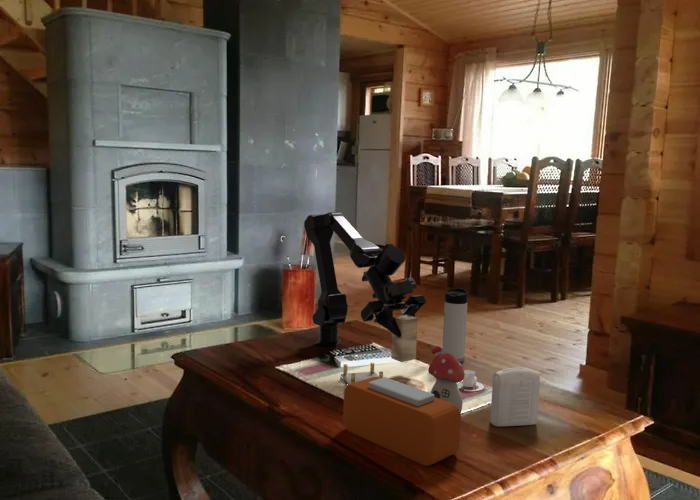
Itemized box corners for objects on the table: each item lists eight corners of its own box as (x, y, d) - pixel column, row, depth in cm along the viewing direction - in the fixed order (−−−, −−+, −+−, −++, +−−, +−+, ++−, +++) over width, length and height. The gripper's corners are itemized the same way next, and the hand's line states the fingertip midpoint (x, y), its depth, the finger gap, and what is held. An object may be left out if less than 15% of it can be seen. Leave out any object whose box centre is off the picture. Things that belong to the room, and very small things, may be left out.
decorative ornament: (421, 408, 150) (424, 344, 148) (447, 405, 153) (450, 342, 151) (441, 424, 142) (444, 356, 140) (468, 421, 144) (471, 354, 142)
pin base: (340, 376, 171) (341, 364, 170) (374, 374, 173) (374, 361, 173) (350, 388, 162) (350, 375, 162) (385, 386, 165) (385, 373, 164)
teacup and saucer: (465, 379, 172) (466, 364, 172) (492, 387, 167) (492, 371, 166) (445, 386, 166) (445, 371, 166) (471, 395, 161) (472, 379, 160)
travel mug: (468, 358, 189) (471, 289, 186) (459, 364, 184) (462, 293, 181) (448, 354, 192) (451, 286, 190) (438, 360, 187) (441, 290, 184)
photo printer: (530, 417, 147) (533, 364, 145) (539, 425, 143) (543, 370, 141) (487, 421, 144) (490, 366, 143) (495, 429, 140) (499, 372, 139)
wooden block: (390, 358, 173) (392, 317, 172) (405, 354, 176) (407, 314, 175) (401, 362, 170) (402, 320, 168) (416, 359, 173) (418, 318, 172)
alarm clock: (459, 456, 127) (462, 399, 126) (432, 470, 121) (434, 410, 120) (370, 419, 144) (371, 368, 143) (342, 429, 138) (343, 376, 137)
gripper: (368, 271, 167) (395, 323, 160) (423, 265, 179) (450, 313, 171) (349, 295, 175) (374, 346, 168) (402, 288, 186) (428, 336, 179)
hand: (408, 335), depth 171 cm, fingers closed on wooden block, 5 cm apart
